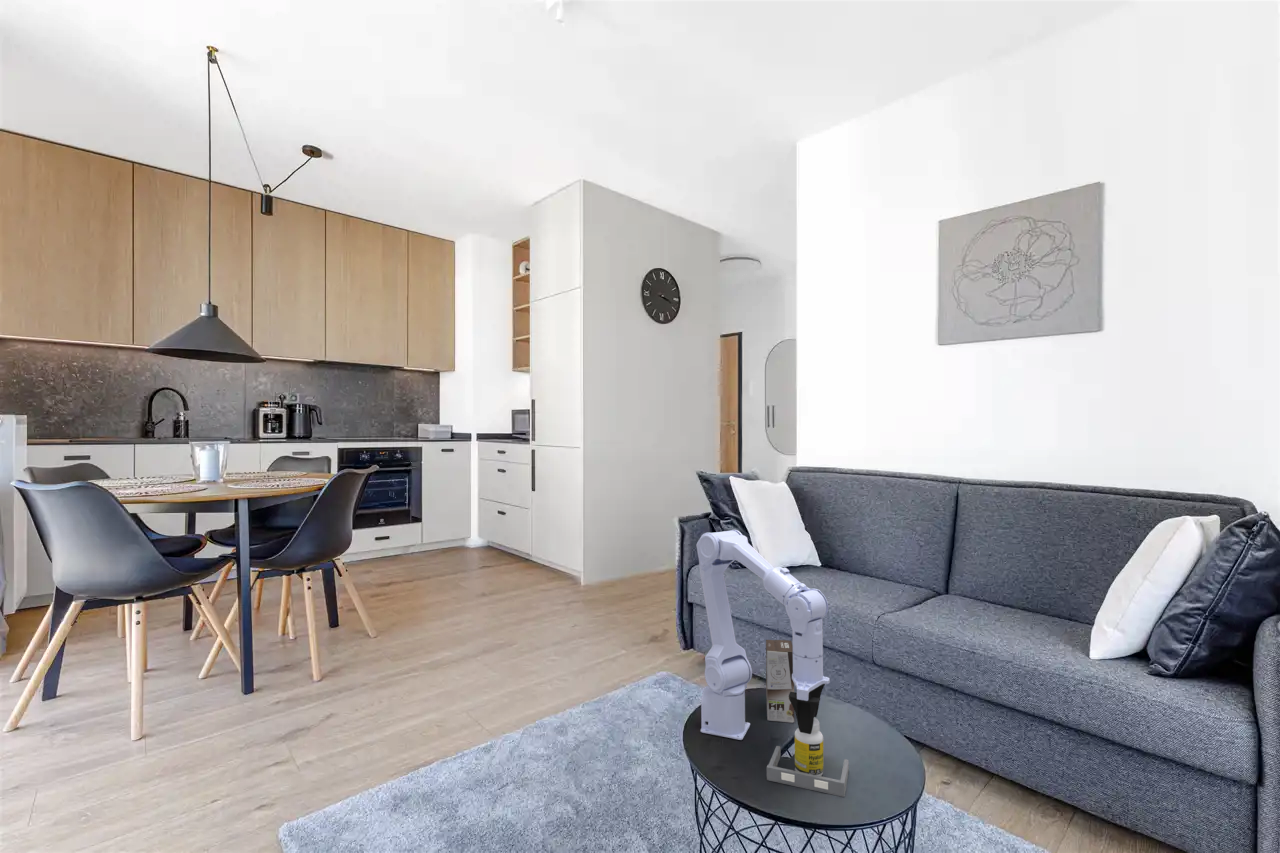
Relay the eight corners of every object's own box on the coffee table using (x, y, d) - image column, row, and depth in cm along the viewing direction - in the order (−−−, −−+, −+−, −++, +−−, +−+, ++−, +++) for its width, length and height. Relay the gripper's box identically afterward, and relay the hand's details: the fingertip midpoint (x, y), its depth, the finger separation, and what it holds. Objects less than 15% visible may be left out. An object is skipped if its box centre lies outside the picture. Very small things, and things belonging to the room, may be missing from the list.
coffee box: (795, 723, 136) (794, 652, 136) (766, 721, 137) (765, 650, 138) (793, 706, 145) (792, 639, 145) (766, 704, 146) (765, 638, 147)
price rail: (766, 780, 112) (766, 767, 112) (776, 755, 121) (776, 743, 121) (844, 797, 106) (844, 784, 107) (848, 770, 116) (848, 757, 116)
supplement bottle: (810, 782, 112) (809, 729, 112) (789, 769, 116) (788, 718, 117) (829, 773, 114) (828, 722, 115) (808, 761, 119) (807, 711, 119)
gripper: (824, 668, 108) (825, 744, 107) (832, 644, 121) (833, 712, 121) (785, 663, 111) (785, 737, 110) (797, 640, 124) (798, 706, 124)
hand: (808, 723), depth 116 cm, fingers open, 7 cm apart
